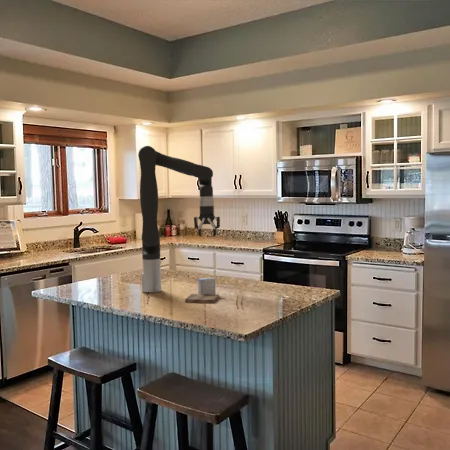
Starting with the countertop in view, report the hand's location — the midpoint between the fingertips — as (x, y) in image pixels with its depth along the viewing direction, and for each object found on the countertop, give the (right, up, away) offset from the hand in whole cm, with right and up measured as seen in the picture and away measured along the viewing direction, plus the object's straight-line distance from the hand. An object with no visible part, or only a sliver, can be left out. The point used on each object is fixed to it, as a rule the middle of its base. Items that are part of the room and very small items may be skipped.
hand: (207, 236), depth 262 cm
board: (-2, -30, -24) cm, 39 cm away
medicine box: (0, -29, -15) cm, 33 cm away
